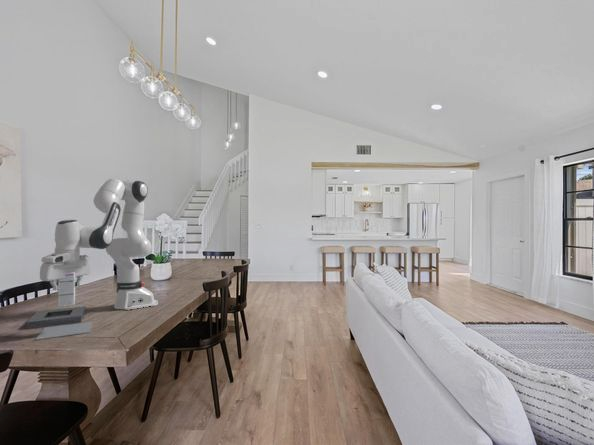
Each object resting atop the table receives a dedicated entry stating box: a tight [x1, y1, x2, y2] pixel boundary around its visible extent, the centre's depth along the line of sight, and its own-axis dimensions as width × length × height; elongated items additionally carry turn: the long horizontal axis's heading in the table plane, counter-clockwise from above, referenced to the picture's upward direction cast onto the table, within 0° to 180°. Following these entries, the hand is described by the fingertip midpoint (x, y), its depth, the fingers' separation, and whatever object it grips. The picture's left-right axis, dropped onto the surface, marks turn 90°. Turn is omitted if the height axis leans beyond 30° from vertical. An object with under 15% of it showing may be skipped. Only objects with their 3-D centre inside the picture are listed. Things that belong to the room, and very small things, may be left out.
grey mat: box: [35, 321, 94, 341], centre depth 135 cm, size 18×16×1 cm
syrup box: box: [57, 272, 76, 308], centre depth 135 cm, size 6×6×14 cm
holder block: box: [25, 305, 87, 330], centre depth 150 cm, size 20×20×3 cm
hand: (66, 288), depth 135 cm, fingers closed on syrup box, 8 cm apart
